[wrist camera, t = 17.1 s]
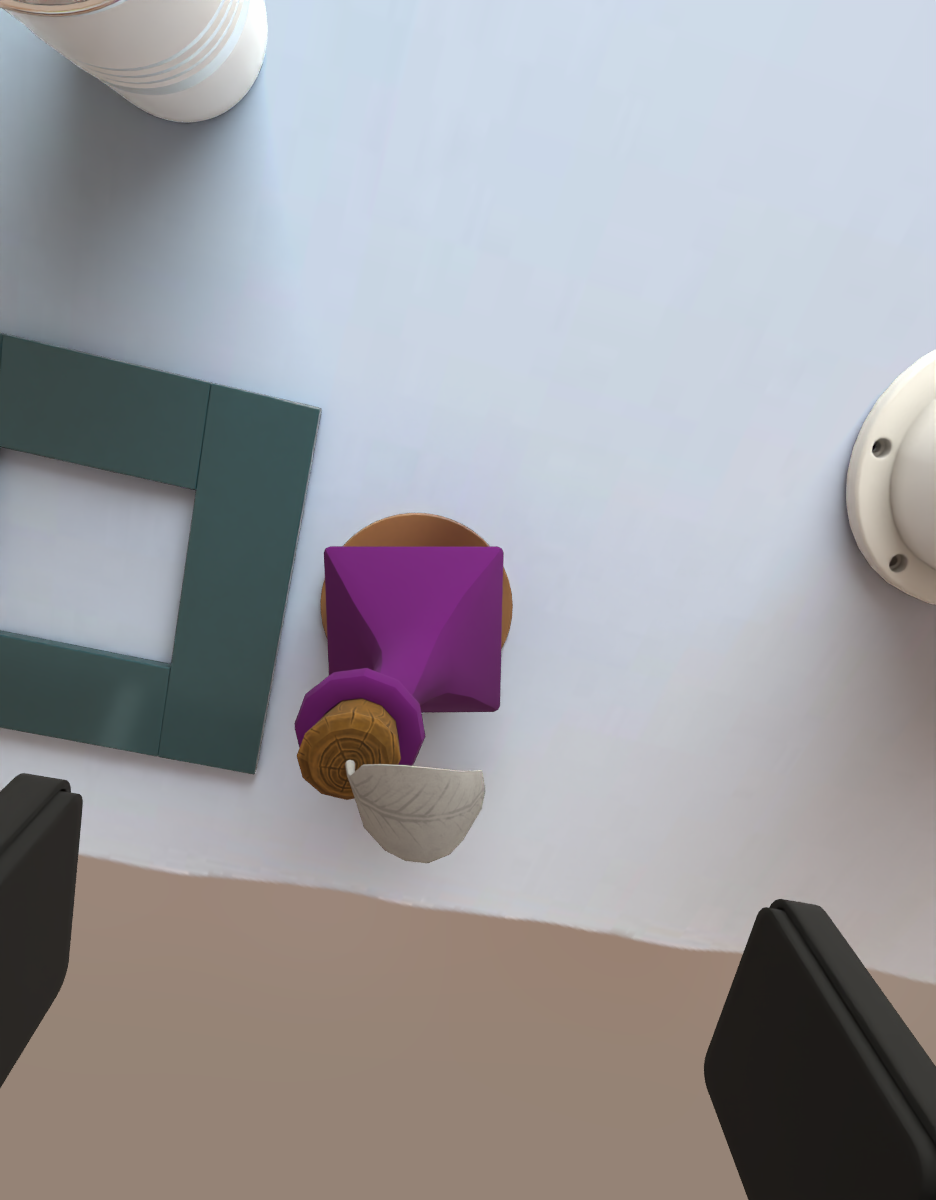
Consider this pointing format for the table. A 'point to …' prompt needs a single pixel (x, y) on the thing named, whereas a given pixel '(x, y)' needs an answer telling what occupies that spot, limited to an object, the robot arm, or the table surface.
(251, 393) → the green square frame
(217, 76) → the striped cup with float
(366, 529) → the coaster
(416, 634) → the purple corked potion bottle
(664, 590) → the table surface
